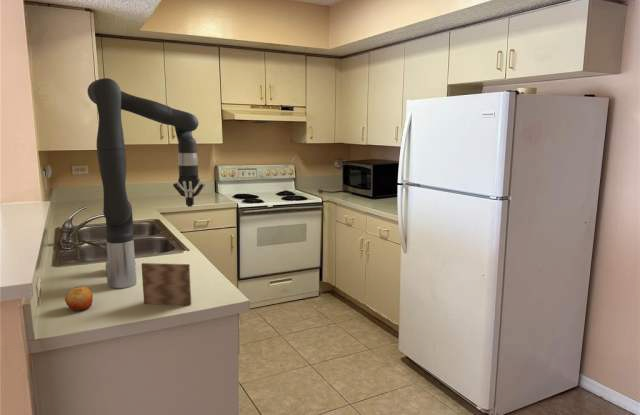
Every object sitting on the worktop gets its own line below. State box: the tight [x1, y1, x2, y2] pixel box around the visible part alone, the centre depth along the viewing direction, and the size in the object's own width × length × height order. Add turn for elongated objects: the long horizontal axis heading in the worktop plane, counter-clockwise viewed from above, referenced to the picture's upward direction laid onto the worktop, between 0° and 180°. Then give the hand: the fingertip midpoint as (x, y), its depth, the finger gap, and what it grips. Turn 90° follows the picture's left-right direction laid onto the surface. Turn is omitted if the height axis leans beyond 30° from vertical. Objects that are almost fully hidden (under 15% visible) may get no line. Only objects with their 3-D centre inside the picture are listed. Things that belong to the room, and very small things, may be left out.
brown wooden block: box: [141, 262, 192, 306], centre depth 153 cm, size 16×6×14 cm, turn 87°
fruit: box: [64, 286, 94, 311], centre depth 148 cm, size 8×8×8 cm
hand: (190, 206), depth 184 cm, fingers closed
